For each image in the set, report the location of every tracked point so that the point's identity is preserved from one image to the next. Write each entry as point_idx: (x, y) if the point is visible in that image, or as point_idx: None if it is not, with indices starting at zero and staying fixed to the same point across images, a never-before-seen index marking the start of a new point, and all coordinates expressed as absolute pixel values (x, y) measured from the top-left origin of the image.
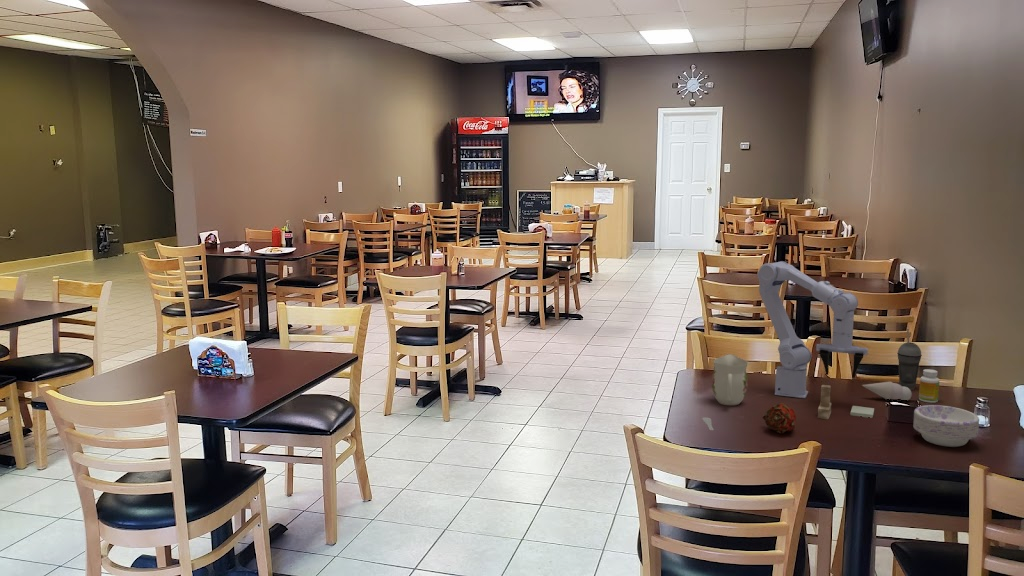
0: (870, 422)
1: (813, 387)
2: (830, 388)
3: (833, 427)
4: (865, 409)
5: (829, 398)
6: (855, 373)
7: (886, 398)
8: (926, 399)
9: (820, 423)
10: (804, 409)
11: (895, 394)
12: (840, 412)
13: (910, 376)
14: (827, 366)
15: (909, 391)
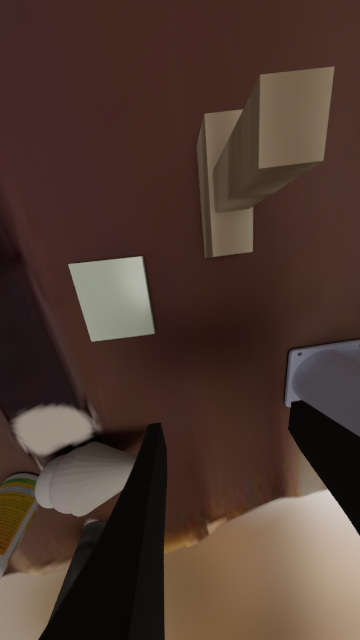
0: (59, 201)
1: (272, 445)
2: (248, 172)
3: (155, 6)
4: (109, 314)
5: (225, 157)
6: (140, 450)
7: (98, 443)
8: (17, 480)
9: (215, 51)
10: (285, 237)
11: (68, 459)
12: (177, 270)
13: (73, 572)
14: (349, 447)
15: (35, 488)
